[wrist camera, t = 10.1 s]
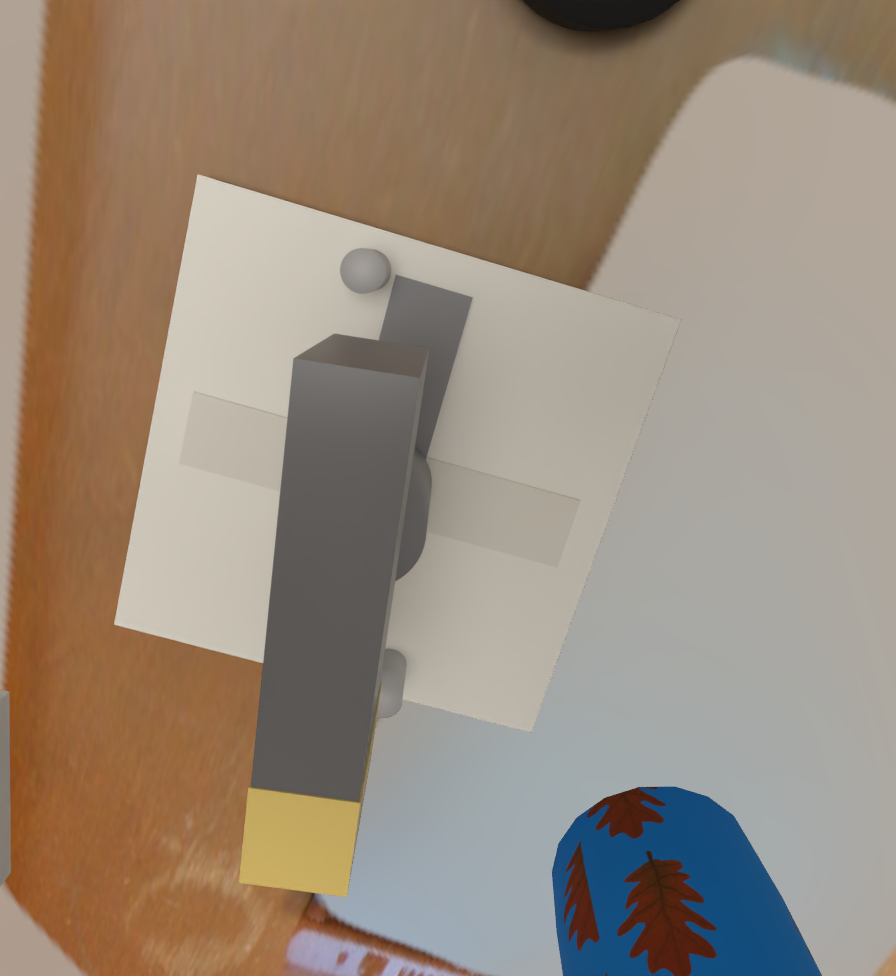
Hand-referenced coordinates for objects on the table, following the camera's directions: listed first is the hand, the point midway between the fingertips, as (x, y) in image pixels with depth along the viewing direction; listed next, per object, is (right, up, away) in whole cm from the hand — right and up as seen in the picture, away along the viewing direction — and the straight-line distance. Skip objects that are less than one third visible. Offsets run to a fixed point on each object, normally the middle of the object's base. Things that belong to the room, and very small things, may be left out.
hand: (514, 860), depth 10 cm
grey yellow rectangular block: (-4, +3, +18) cm, 18 cm away
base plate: (-4, +5, +26) cm, 26 cm away
